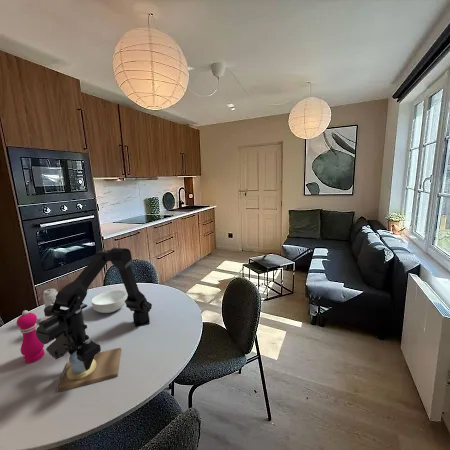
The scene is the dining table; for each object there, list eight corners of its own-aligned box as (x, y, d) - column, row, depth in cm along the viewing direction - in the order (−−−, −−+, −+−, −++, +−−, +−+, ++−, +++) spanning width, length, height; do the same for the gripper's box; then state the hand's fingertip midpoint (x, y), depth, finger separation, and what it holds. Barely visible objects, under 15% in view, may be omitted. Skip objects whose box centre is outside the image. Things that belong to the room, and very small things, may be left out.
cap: (93, 359, 91) (91, 347, 90) (90, 371, 85) (87, 358, 84) (73, 363, 89) (71, 351, 88) (68, 376, 83) (66, 363, 82)
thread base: (121, 350, 98) (120, 345, 98) (117, 376, 85) (116, 370, 85) (69, 362, 93) (68, 356, 93) (57, 391, 80) (56, 386, 79)
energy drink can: (53, 322, 120) (48, 293, 117) (44, 320, 122) (39, 292, 119) (64, 315, 126) (59, 288, 123) (56, 314, 128) (51, 287, 125)
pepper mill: (31, 351, 100) (21, 306, 96) (50, 350, 100) (41, 304, 96) (18, 365, 93) (7, 316, 89) (38, 363, 93) (28, 314, 89)
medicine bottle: (56, 335, 110) (51, 310, 107) (42, 334, 111) (37, 309, 109) (69, 326, 116) (64, 302, 114) (56, 324, 118) (51, 301, 116)
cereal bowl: (134, 305, 133) (133, 293, 132) (105, 321, 119) (103, 308, 118) (115, 298, 142) (113, 287, 141) (86, 312, 128) (84, 299, 127)
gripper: (34, 329, 82) (43, 370, 85) (61, 348, 72) (70, 393, 75) (70, 313, 91) (76, 350, 94) (98, 328, 81) (104, 369, 84)
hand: (81, 365), depth 87 cm, fingers open, 8 cm apart
